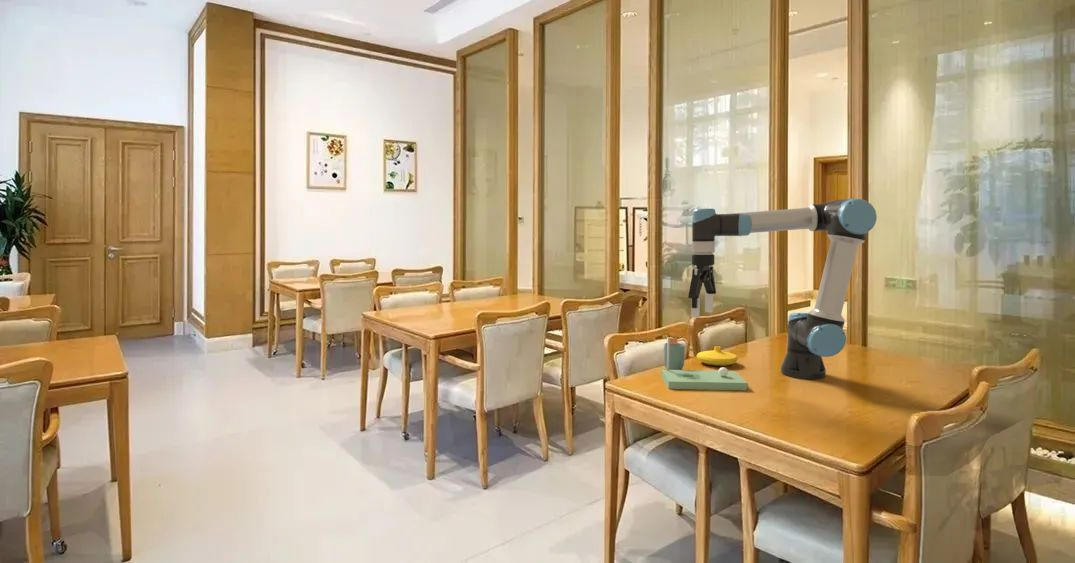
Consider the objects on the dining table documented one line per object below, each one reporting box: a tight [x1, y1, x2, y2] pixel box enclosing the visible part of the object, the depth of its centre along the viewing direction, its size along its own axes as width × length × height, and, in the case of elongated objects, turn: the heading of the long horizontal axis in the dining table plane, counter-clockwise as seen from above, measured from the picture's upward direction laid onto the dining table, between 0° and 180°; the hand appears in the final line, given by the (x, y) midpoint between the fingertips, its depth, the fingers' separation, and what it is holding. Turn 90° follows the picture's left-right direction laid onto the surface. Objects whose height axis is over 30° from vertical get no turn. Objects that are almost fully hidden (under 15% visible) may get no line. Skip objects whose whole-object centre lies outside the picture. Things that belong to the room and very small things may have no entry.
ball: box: [717, 366, 729, 377], centre depth 209 cm, size 3×3×3 cm
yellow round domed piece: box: [696, 345, 739, 367], centre depth 238 cm, size 16×16×7 cm
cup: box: [663, 342, 686, 370], centre depth 227 cm, size 8×8×10 cm
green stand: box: [661, 337, 748, 391], centre depth 209 cm, size 26×16×14 cm, turn 87°
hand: (702, 314), depth 209 cm, fingers open, 13 cm apart
